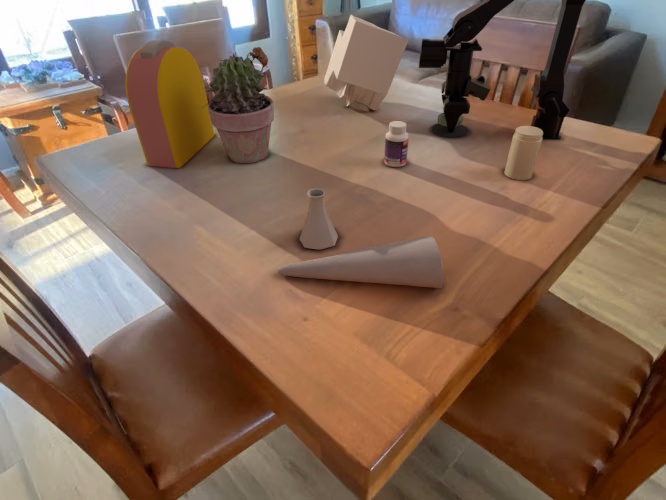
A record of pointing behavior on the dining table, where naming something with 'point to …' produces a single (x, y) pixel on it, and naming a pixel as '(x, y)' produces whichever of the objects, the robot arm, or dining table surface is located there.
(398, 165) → the pill bottle
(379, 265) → the grey long cone
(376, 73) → the beige tilted block
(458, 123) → the lid
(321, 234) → the flask
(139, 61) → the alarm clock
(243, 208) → the dining table surface
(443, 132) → the coaster
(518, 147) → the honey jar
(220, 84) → the potted plant
